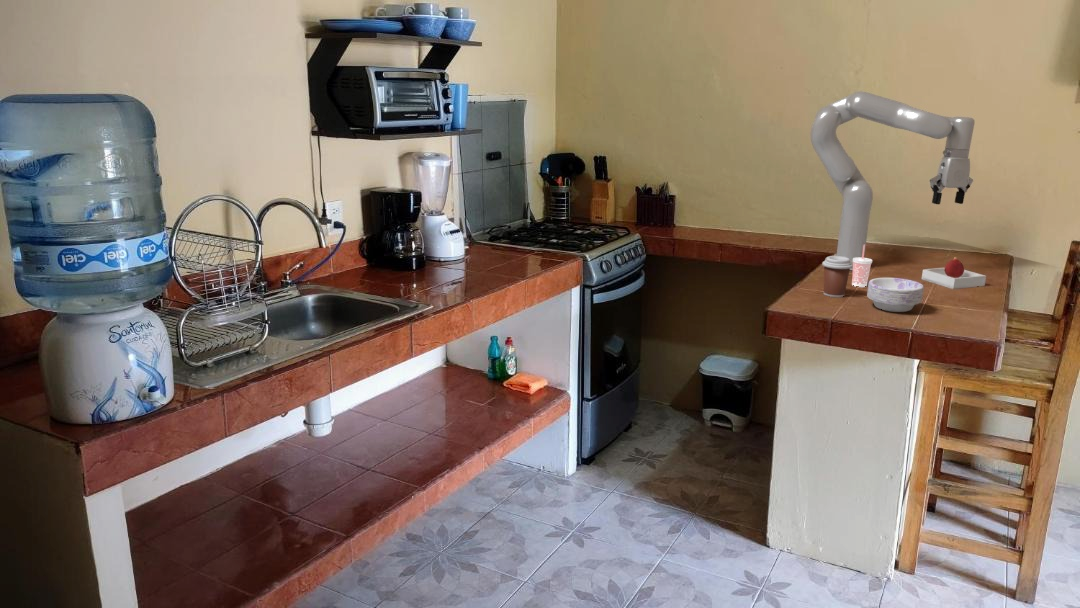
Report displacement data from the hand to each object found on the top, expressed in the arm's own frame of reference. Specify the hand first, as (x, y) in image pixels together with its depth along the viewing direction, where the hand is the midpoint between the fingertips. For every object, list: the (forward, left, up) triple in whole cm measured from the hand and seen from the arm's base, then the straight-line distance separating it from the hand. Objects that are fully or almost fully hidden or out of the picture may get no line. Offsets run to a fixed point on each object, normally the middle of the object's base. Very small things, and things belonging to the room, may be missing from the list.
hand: (947, 203), depth 270 cm
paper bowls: (-48, -31, -25) cm, 62 cm away
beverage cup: (-39, -6, -25) cm, 47 cm away
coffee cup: (-55, -13, -25) cm, 62 cm away
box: (-5, -12, -25) cm, 28 cm away
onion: (-5, -12, -24) cm, 28 cm away
